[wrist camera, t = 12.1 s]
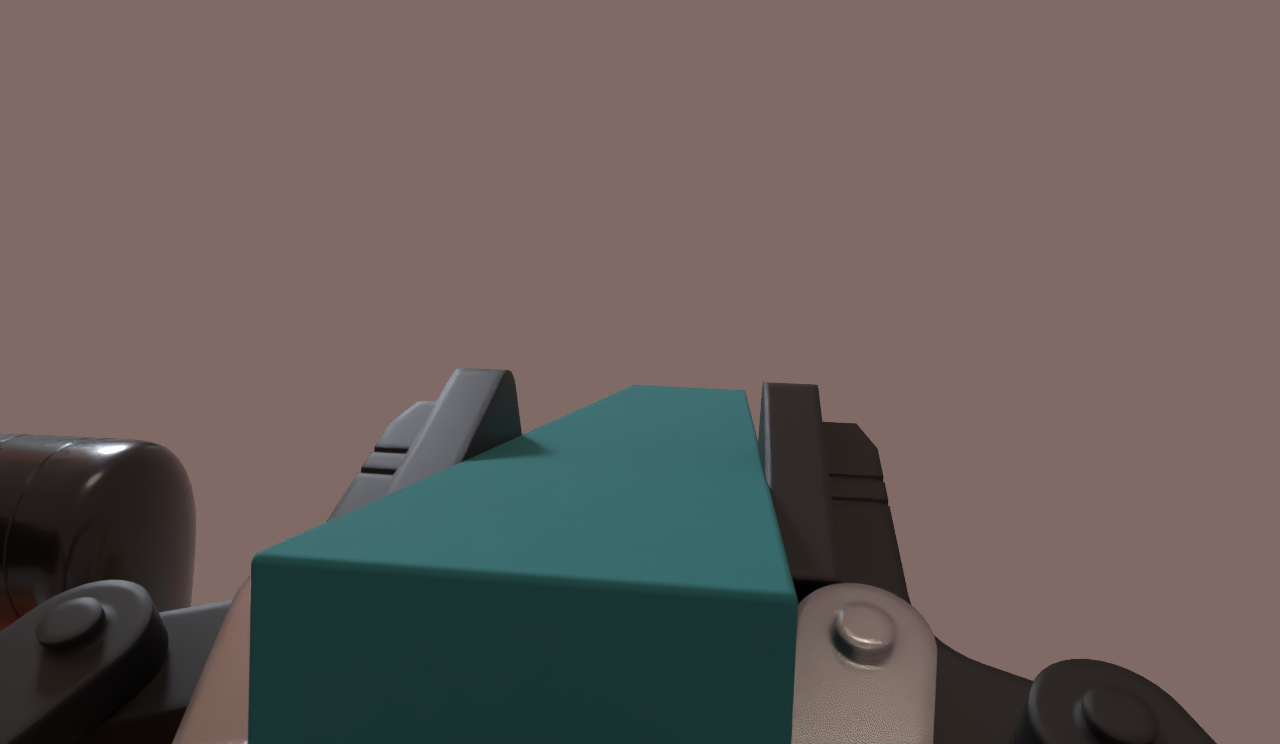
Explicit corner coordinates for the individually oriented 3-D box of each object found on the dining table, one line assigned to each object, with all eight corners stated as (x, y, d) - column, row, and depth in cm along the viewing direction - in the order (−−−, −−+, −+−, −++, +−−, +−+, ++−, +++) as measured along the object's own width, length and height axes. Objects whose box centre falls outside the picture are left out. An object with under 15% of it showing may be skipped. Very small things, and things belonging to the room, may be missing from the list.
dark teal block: (628, 465, 25) (631, 384, 25) (741, 471, 25) (745, 390, 25) (238, 932, 5) (246, 552, 5) (779, 998, 5) (798, 594, 5)
